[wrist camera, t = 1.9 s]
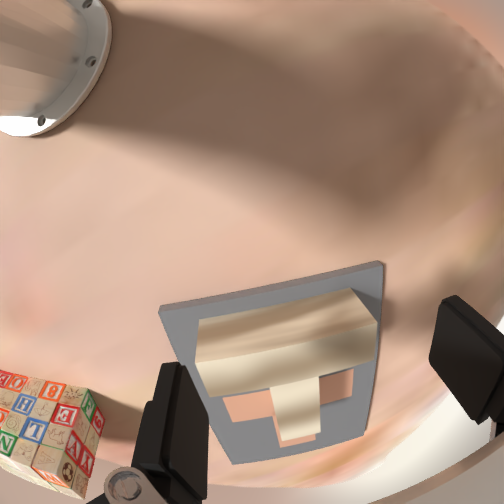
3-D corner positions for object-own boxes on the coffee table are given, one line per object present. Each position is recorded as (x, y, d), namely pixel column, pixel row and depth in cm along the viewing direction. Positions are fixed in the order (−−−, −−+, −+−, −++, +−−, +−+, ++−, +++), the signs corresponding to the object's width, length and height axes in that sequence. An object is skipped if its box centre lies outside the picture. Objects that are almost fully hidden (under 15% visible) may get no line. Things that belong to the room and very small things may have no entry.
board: (160, 305, 22) (158, 312, 21) (377, 260, 23) (383, 265, 22) (232, 458, 32) (232, 464, 31) (361, 430, 32) (363, 435, 31)
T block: (199, 319, 22) (194, 363, 17) (350, 287, 22) (377, 322, 17) (231, 408, 26) (234, 448, 21) (348, 382, 26) (365, 418, 22)
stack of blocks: (-6, 391, 26) (-37, 446, 14) (-25, 360, 24) (-63, 416, 12) (106, 420, 28) (85, 502, 16) (89, 386, 25) (56, 477, 14)
